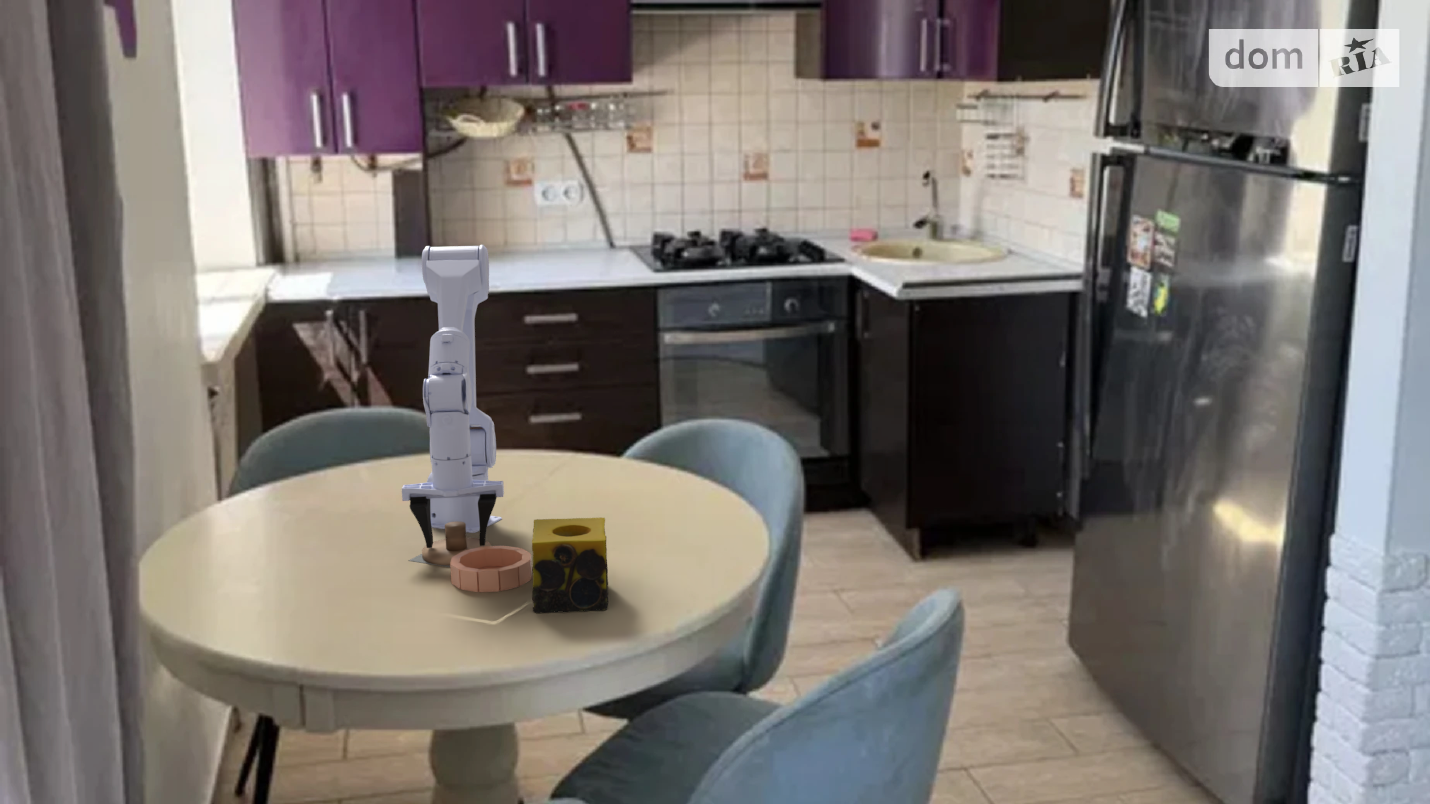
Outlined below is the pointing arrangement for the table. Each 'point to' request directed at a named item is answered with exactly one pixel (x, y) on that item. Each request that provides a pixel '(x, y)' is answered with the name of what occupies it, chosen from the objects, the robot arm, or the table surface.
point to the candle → (569, 565)
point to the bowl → (491, 568)
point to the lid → (450, 544)
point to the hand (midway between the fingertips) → (456, 544)
